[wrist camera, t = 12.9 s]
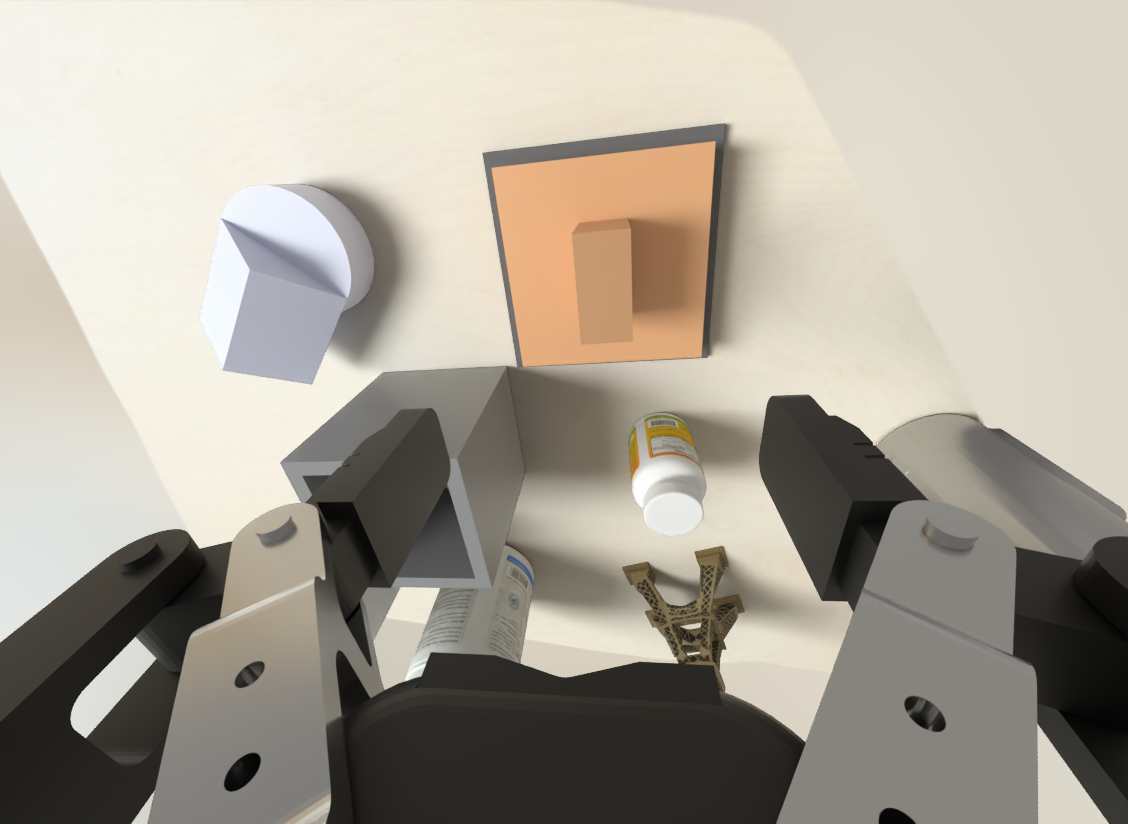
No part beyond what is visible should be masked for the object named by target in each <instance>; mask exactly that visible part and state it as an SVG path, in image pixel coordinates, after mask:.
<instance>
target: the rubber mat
mask: <svg viewBox="0 0 1128 824" xmlns="http://www.w3.org/2000/svg"><path fill="white" fill-rule="evenodd" d="M724 133H725V123H724V124H716V125H708V126H699V127H691V128H683V129H675V130H667V131H658V132H650V133H642V134H634V135H626V136H617V137H609V138H601V139H593V140H585V141H576V142H568V143H560V144H552V145H544V146H535V147H527V148H519V149H511V150H503V151H494V152H486V153H483V158H484V164H485V171H486V177H487V183H488V189H489V195H490V201H491V207H492V214H493V220H494V226H495V232H496V238H497V244H498V250H499V256H500V263H501V269H502V275H503V281H504V287H505V293H506V299H507V306H508V312H509V318H510V324H511V330H512V336H513V342H514V349H515V355H516V361H517V367H523V364H522V358H521V352H520V345H519V339H518V333H517V326H516V320H515V314H514V307H513V301H512V295H511V288H510V282H509V276H508V269H507V263H506V257H505V251H504V244H503V238H502V232H501V225H500V219H499V213H498V206H497V200H496V194H495V187H494V181H493V175H492V168H494V167H503V166H511V165H519V164H528V163H536V162H545V161H553V160H561V159H570V158H578V157H587V156H595V155H603V154H612V153H620V152H628V151H637V150H645V149H654V148H662V147H670V146H679V145H687V144H696V143H704V142H712V141H716V143H715V158H714V173H713V189H712V204H711V219H710V234H709V249H708V264H707V280H706V295H705V310H704V325H703V340H702V356H701V357H696V358H707V357H708V344H709V331H710V318H711V304H712V291H713V278H714V265H715V252H716V239H717V225H718V212H719V199H720V186H721V173H722V159H723V146H724ZM677 359H691V358H677ZM658 360H672V359H658ZM640 361H652V360H640ZM621 362H633V361H621ZM603 363H613V362H603ZM584 364H594V363H584ZM565 365H575V364H565ZM547 366H555V365H547ZM528 367H536V366H528Z"/></svg>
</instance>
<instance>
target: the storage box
mask: <svg viewBox="0 0 1128 824" xmlns="http://www.w3.org/2000/svg"><path fill="white" fill-rule="evenodd" d="M414 408H432V409H434V410H435V412H436V413H437V416H438V419H439V422H440V426H441V429H442V433H443V437H444V440H445V444H446V447H447V451H448V454H449V458H450V477H449V480H448V483H447V484H448V488H444V490H443V492H442V494H441V496H440V498H439V500H438V501H437V503H436V505H435V507H434V509H433V511H432V513H431V514H430V516H429V518H428V520H427V522H426V524H425V526H424V527H423V529H422V531H421V533H420V535H419V537H418V539H417V540H416V542H415V544H414V546H413V548H412V550H411V551H410V553H409V555H408V557H407V559H406V561H405V563H404V564H403V566H402V568H401V570H400V572H399V574H398V576H397V577H396V579H395V581H394V583H393V585H392V587H429V588H480V589H492V588H493V584H494V581H495V577H496V574H497V570H498V567H499V563H500V560H501V556H502V553H503V549H504V546H505V542H506V539H507V535H508V532H509V528H510V525H511V521H512V517H513V514H514V510H515V507H516V503H517V500H518V496H519V493H520V489H521V486H522V482H523V479H524V475H525V467H524V461H523V455H522V450H521V444H520V438H519V433H518V427H517V421H516V416H515V410H514V404H513V399H512V393H511V387H510V382H509V376H508V370H507V366H499V367H480V368H461V369H442V370H423V371H403V372H384V373H382V374H381V375H380V376H378V377H377V378H376V379H375V380H374V381H373V382H372V383H370V384H369V385H368V386H367V387H366V388H365V389H364V390H362V391H361V392H360V393H359V394H358V395H357V396H356V397H354V398H353V399H352V400H351V401H350V402H349V403H348V404H346V405H345V406H344V407H343V408H342V409H341V410H340V411H338V412H337V413H336V414H335V415H334V416H333V417H332V418H330V419H329V420H328V421H327V422H326V423H325V424H324V425H322V426H321V427H320V428H319V429H318V430H317V431H316V432H314V433H313V434H312V435H311V436H310V437H309V438H308V439H306V440H305V441H304V442H303V443H302V444H301V445H300V446H298V447H297V448H296V449H295V450H294V451H293V452H292V453H290V454H289V455H288V456H287V457H286V458H285V459H284V460H282V461H281V462H280V463H281V465H282V467H283V469H284V471H285V473H286V475H287V477H288V479H289V481H290V482H291V484H292V486H293V488H294V490H295V492H296V494H297V496H298V498H299V500H300V501H301V503H305V502H306V501H307V500H308V499H309V498H310V497H311V496H312V495H313V494H314V493H315V492H316V491H317V489H318V488H319V487H320V486H321V485H322V484H323V483H324V482H325V481H326V480H327V479H328V478H329V477H330V476H331V475H332V474H333V473H334V471H335V470H336V469H337V468H338V467H342V463H343V462H344V461H345V460H346V459H347V458H348V457H349V456H352V452H353V451H354V450H355V449H356V448H357V447H358V446H359V445H360V444H361V443H362V442H363V441H364V440H365V439H367V438H368V437H370V436H371V435H373V434H374V433H376V432H378V431H379V430H381V429H383V428H384V427H385V426H386V425H387V424H388V423H389V422H390V421H391V419H392V418H393V417H394V416H395V415H396V414H397V413H398V412H399V411H400V410H401V409H414Z"/></svg>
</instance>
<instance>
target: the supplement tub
mask: <svg viewBox="0 0 1128 824" xmlns="http://www.w3.org/2000/svg"><path fill="white" fill-rule="evenodd" d="M533 583H534V573H533V569H532V567H531V565H530V563H529V562H528V560H527V559H526V558H525V557H524V556H523V555H522V554H521V553H519V552H518V551H516V550H515V549H513V548H511V547H509V546H506V545H505V546H504V549H503V553H502V556H501V560H500V563H499V567H498V570H497V574H496V577H495V581H494V584H493V588H492V589H480V588H440V590H439V593H438V595H437V598H436V601H435V603H434V606H433V608H432V611H431V613H430V616H429V619H428V621H427V624H426V626H425V629H424V632H423V634H422V637H421V640H420V642H419V645H418V647H417V650H416V652H415V655H414V658H413V660H412V663H411V666H410V668H409V671H408V674H407V677H406V680H405V681H407V680H410V679H413V678H416V677H421V676H422V673H423V671H424V668H425V666H426V663H427V660H428V658H429V655H430V653H431V652H439V653H461V654H482V655H497V656H499V657H502V658H505V659H508V660H511V661H514V662H517V663H521V656H522V650H523V644H524V638H525V632H526V627H527V620H528V614H529V608H530V602H531V596H532V590H533Z"/></svg>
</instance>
